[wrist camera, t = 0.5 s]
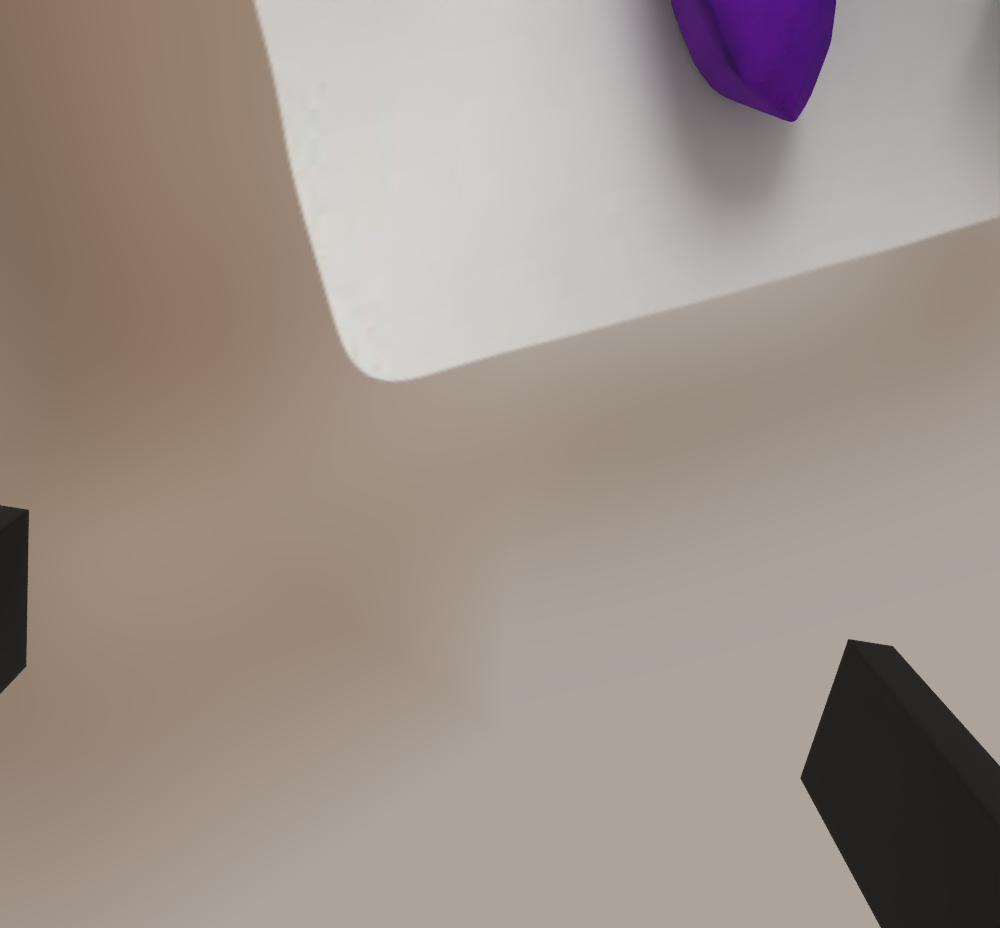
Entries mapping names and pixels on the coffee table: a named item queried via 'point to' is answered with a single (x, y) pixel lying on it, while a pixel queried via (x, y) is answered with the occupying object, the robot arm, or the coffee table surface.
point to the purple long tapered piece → (759, 48)
